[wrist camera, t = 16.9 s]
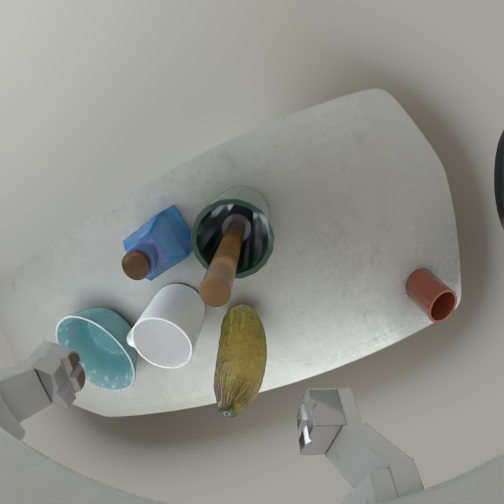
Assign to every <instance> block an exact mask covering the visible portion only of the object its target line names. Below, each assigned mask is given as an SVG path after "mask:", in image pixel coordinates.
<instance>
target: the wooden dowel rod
mask: <svg viewBox="0 0 504 504" xmlns="http://www.w3.org/2000/svg"><path fill="white" fill-rule="evenodd" d="M252 223H253V212H252V211H251V210H250V209H249V208H247V207H243V206H239V205H234V206H233V207H232V208H231V209H230V211H229V213H228V214H227V216H226V218H225V219H224V221H223V223H222V233H223V235H224V236H223V238H222V240H221V242H220V244H219V247H218V249H217V251H216V253H215V255H214V257H213V259H212V261H211V264H210V266H209V268H208V270H207V272H206V274H205V276H204V279H203V281H202V283H201V285H200V288H199V295H200V297H201V299H202V300H203V302H204V303H206V304H207V305H209V306H213V307H219V306H222V305H224V304H226V303H227V302H228V301H229V299H230V296H231V291H232V287H233V282H234V278H235V273H236V268H237V264H238V259H239V255H240V250H241V246H242V242H243V241H245V240H246V239H247V238H248V237H249V236H250V234H251V231H252Z"/></svg>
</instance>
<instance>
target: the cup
mask: <svg viewBox="0 0 504 504" xmlns="http://www.w3.org/2000/svg"><path fill="white" fill-rule="evenodd" d="M234 205H239V206H243V207H247V208H249V209H250V210H251V211H252V212H253V223H252V231H251V234H250V236H249V237H248V238H247V239H246V240H245V241H243V242H242V246H241V250H240V255H239V259H238V264H237V268H236V273H235V278H244V277H246V276H249V275H251V274H254V273H255V272H257V271H258V270H259V269H260V268H262V267H263V266H264V265H265V264H266V262H267V261H268V259H269V257H270V255H271V253H272V251H273V242H274V234H273V228H272V222H271V217H270V211H269V207H268V203H267V201H266V200H265V198H264V197H263V195H262V194H261V193H260V192H258V191H257V190H255V189H253V188H251V187H248V186H235V187H232V188H229V189H228V190H226V191H224V192H223V193H222V194H220V195H219V196H218V197H217V198H216V199H215V200H213V201H212V202H211V203H210V204H209V205H208V206H206V207H205V209H204V210H203V211H202V212H201V213H200V214H199V215H198V216H197V218H196V220H195V222H194V225H193V227H192V231H191V244H192V247H193V250H194V253H195V256H196V258H197V259H198V260H199V262H200V263H201V264H202V265H203V267H204V268H206V269H207V270H208V268H209V266H210V264H211V261H212V259H213V257H214V255H215V253H216V251H217V249H218V247H219V244H220V242H221V240H222V238H223V236H224V235H223V233H222V223H223V221H224V219H225V218H226V216H227V214H228V213H229V211H230V209H231V208H232V207H233V206H234Z"/></svg>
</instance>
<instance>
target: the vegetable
mask: <svg viewBox="0 0 504 504" xmlns="http://www.w3.org/2000/svg"><path fill="white" fill-rule="evenodd" d="M266 358H267V347H266V337H265V332H264V328H263V325H262V322H261V320H260V318H259V316H258V315H257V313H256V312H255V311H254V310H253V309H252V308H251V307H250V306H248V305H244V304H241V305H237V306H234V307H232V308H231V309H230V310H229V311H228V312H227V314H226V315H225V317H224V319H223V322H222V326H221V335H220V341H219V348H218V354H217V361H216V369H215V375H214V392H215V396H216V400H217V408H218V411H219V413H220V414H221V415H223V416H225V417H234V416H237V415H238V414H239V413H240V412H241V411H242V410H243V409H244V408H246V407H247V406H248V405H249V404H251V403H252V402H253V401H254V399H255V398H256V396H257V394H258V392H259V390H260V387H261V384H262V380H263V376H264V373H265V366H266Z"/></svg>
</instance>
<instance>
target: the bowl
mask: <svg viewBox="0 0 504 504" xmlns="http://www.w3.org/2000/svg"><path fill="white" fill-rule="evenodd" d="M131 329H132V328H131V327H130V325H129V324H128V323H127V322H126V321H125V320H124V319H123V318H122V317H121V316H120V315H118V314H117V313H115V312H113V311H112V310H109V309H106V308H101V307H96V308H92V309H88V310H85V311H81V312H78V313H75V314H72V315H69V316H67V317H65V318H63V319H61V320H60V322H59V323H58V325H57V328H56V340H57V344H58V345H61V346H63V347H66V348H68V349H71V350H74V351H76V352H78V354H79V357H80V361H79V363H80V365H81V366H82V367H83V368H84V371H85V377H86V379H85V380H87V381H88V382H90V383H92V384H93V385H95V386H98V387H100V388H103V389H106V390H111V391H122V390H125V389H128V388H129V387H130V386H131V385H132V384H133V383H134V380H135V373H136V356H137V350H136V348H135V347H132V346H130V345H129V344H128V343H127V335H128V333H129V332H130V330H131Z"/></svg>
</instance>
